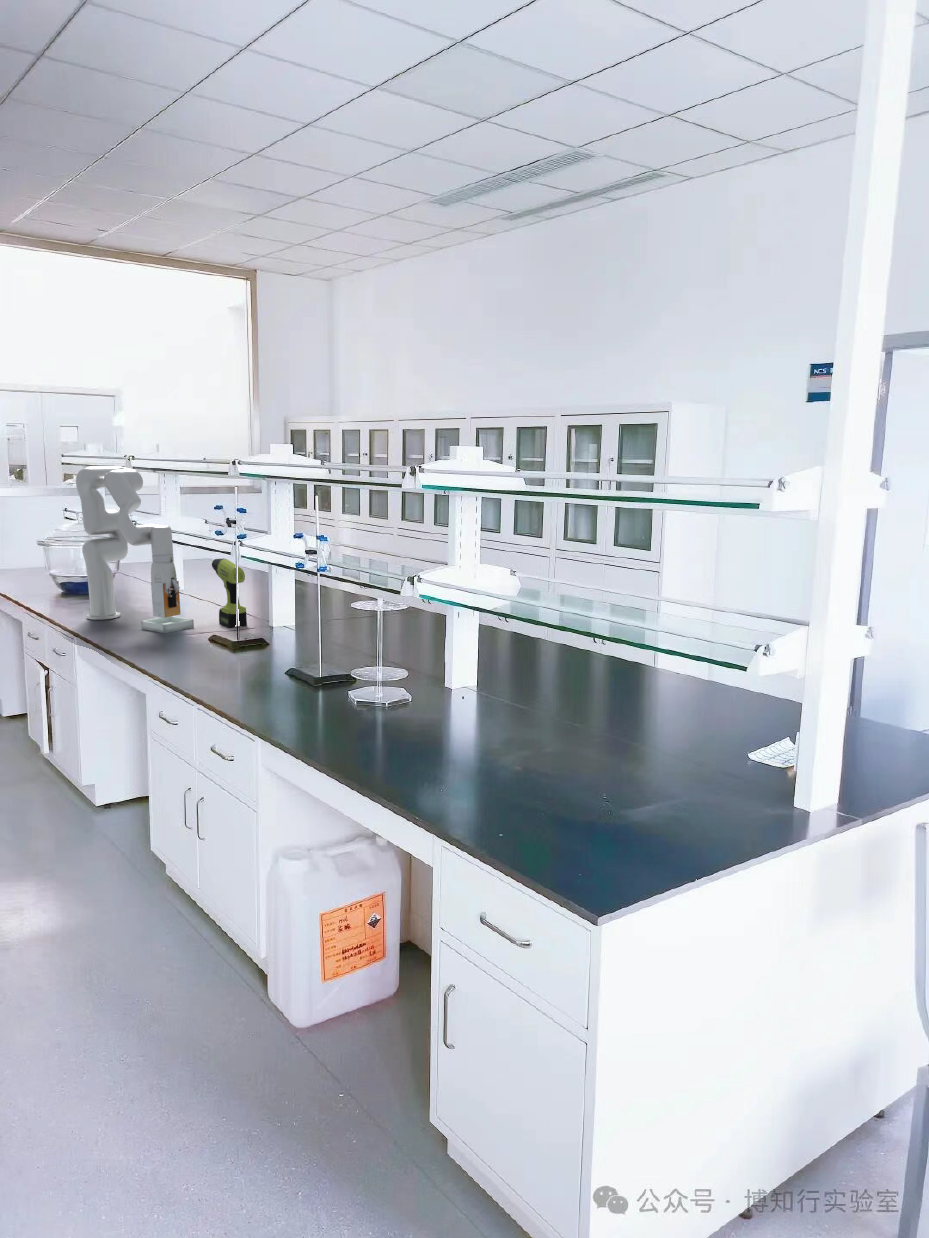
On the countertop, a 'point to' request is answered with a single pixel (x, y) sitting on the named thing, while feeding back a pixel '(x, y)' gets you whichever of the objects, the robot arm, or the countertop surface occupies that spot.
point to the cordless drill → (230, 593)
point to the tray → (167, 624)
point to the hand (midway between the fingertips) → (166, 605)
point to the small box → (163, 601)
